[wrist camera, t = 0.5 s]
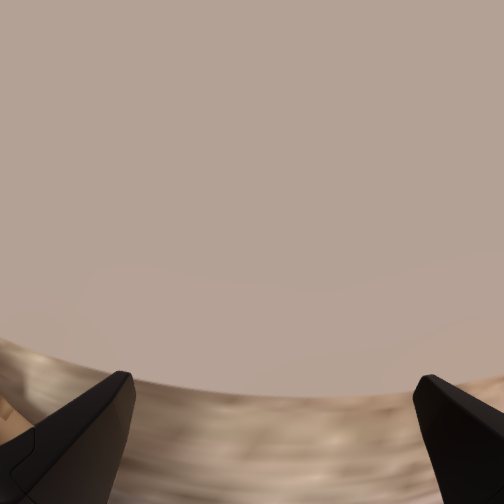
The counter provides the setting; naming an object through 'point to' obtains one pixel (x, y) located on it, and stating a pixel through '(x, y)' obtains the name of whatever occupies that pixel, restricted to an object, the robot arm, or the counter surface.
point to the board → (11, 422)
